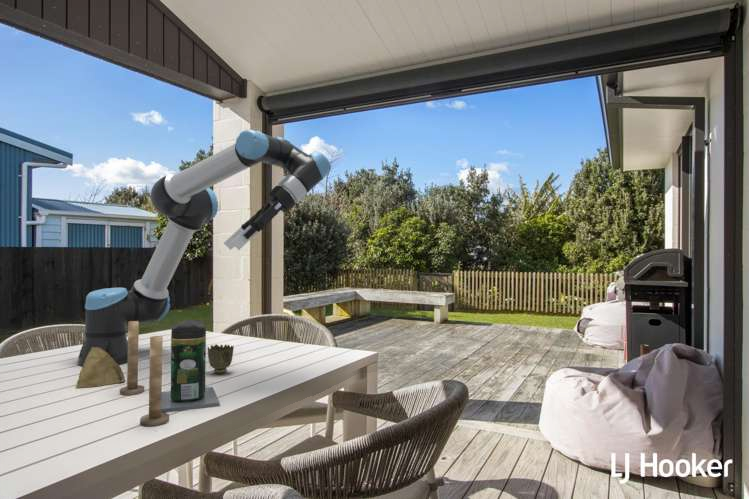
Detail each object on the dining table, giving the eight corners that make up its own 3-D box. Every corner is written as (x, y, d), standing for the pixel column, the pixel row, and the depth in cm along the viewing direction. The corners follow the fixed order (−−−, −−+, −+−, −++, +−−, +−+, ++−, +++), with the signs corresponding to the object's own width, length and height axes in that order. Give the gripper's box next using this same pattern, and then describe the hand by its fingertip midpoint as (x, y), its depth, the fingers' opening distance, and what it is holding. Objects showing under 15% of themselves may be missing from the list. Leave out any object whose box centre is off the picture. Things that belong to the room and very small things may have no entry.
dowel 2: (134, 425, 98) (136, 338, 99) (149, 416, 104) (151, 334, 104) (160, 427, 98) (161, 339, 98) (174, 417, 104) (175, 335, 104)
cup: (225, 377, 137) (225, 349, 137) (202, 375, 139) (202, 348, 139) (237, 371, 144) (238, 344, 144) (215, 369, 146) (216, 343, 146)
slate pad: (159, 412, 106) (159, 409, 106) (158, 395, 119) (158, 392, 119) (219, 405, 112) (219, 402, 112) (212, 389, 125) (212, 386, 125)
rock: (134, 370, 134) (101, 364, 135) (128, 350, 129) (93, 344, 130) (113, 402, 126) (77, 396, 126) (105, 382, 121) (67, 376, 121)
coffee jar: (173, 392, 119) (174, 318, 119) (206, 390, 121) (207, 317, 122) (167, 404, 110) (168, 324, 110) (203, 402, 112) (204, 323, 112)
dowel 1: (114, 394, 119) (116, 322, 119) (128, 388, 125) (129, 319, 125) (136, 395, 118) (137, 323, 119) (148, 389, 124) (150, 320, 124)
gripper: (309, 200, 124) (249, 257, 118) (284, 207, 147) (233, 255, 140) (289, 178, 122) (227, 235, 115) (267, 189, 144) (214, 237, 138)
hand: (230, 246), depth 128 cm, fingers open, 13 cm apart
